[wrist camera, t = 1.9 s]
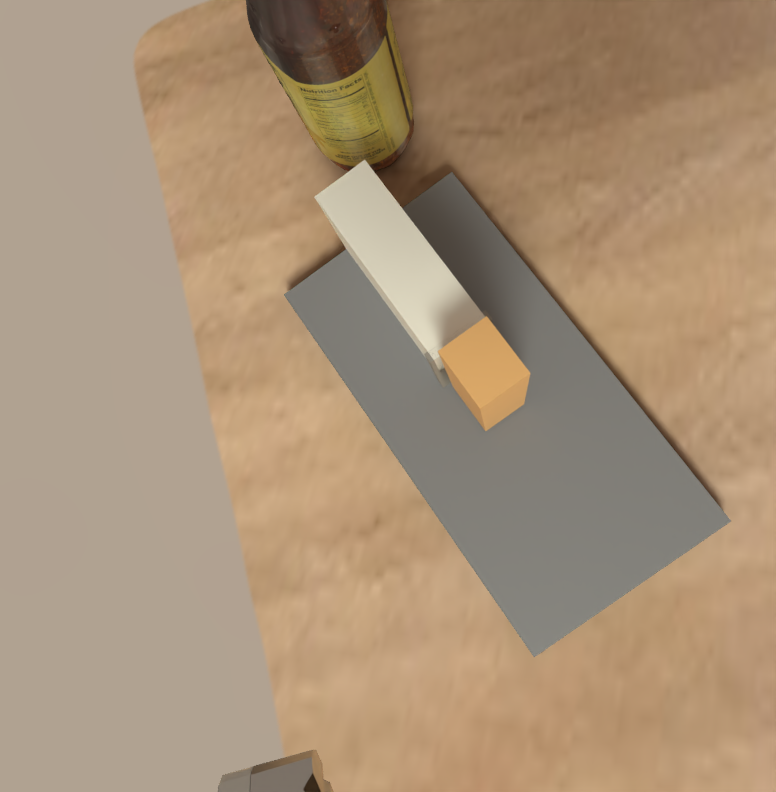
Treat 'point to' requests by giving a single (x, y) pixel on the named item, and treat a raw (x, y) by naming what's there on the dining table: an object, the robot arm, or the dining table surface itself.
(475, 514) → the grey base plate
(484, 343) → the tan wooden beam
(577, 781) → the dining table surface
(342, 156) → the sauce bottle
